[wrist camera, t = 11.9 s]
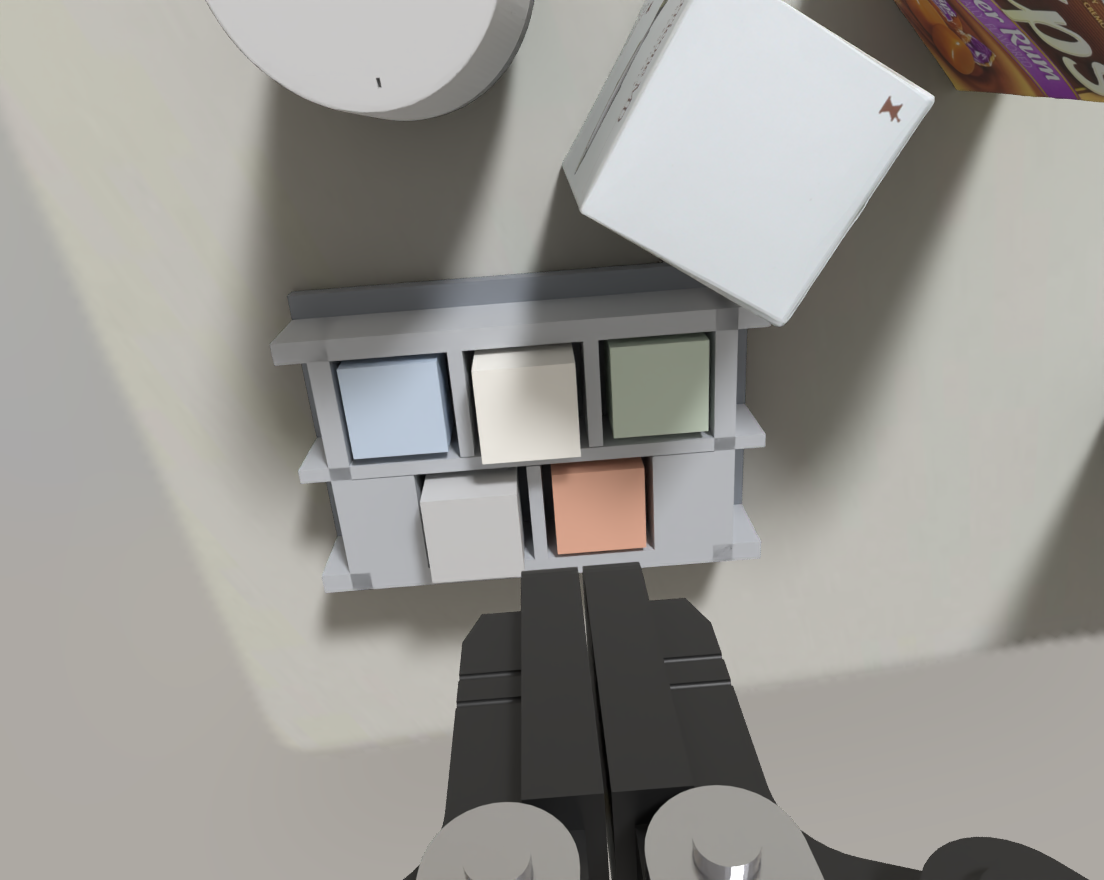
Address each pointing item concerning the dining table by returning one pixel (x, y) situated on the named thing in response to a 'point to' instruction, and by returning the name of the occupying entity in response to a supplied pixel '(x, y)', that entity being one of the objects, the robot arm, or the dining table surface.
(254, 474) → the dining table surface
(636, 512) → the key terracotta
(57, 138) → the dining table surface
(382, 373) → the key blue
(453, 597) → the dining table surface
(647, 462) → the keypad board
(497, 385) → the key ivory
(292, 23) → the smart speaker
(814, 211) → the supplement box
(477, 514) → the key grey
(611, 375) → the key sage
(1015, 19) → the candy box
